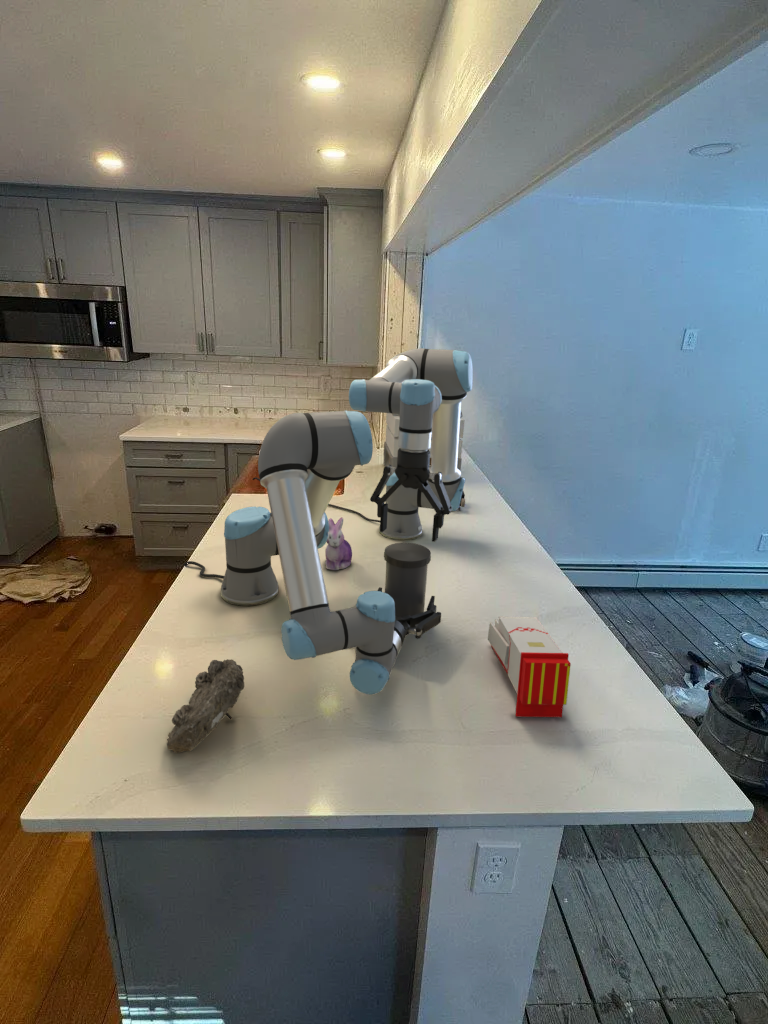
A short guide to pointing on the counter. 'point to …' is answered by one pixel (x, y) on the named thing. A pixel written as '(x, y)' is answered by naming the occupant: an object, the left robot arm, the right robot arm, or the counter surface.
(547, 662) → the toy
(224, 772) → the counter surface
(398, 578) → the jar
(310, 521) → the left robot arm
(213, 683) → the fossil
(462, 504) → the figurine character
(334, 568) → the figurine
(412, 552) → the lid
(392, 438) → the white slatted box
